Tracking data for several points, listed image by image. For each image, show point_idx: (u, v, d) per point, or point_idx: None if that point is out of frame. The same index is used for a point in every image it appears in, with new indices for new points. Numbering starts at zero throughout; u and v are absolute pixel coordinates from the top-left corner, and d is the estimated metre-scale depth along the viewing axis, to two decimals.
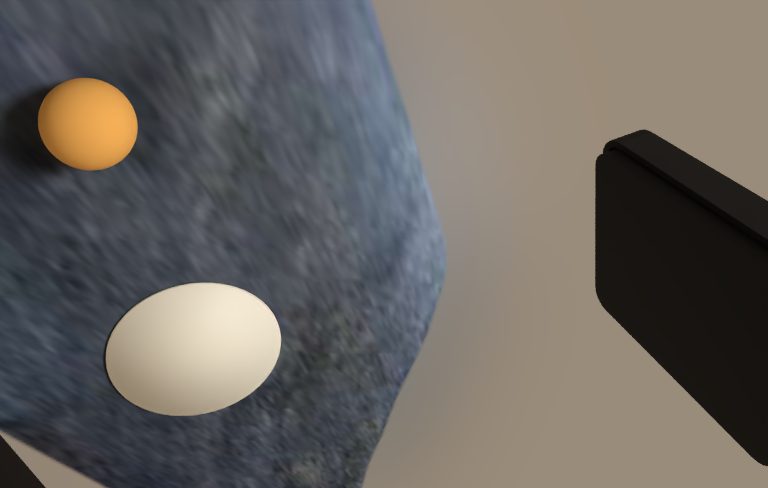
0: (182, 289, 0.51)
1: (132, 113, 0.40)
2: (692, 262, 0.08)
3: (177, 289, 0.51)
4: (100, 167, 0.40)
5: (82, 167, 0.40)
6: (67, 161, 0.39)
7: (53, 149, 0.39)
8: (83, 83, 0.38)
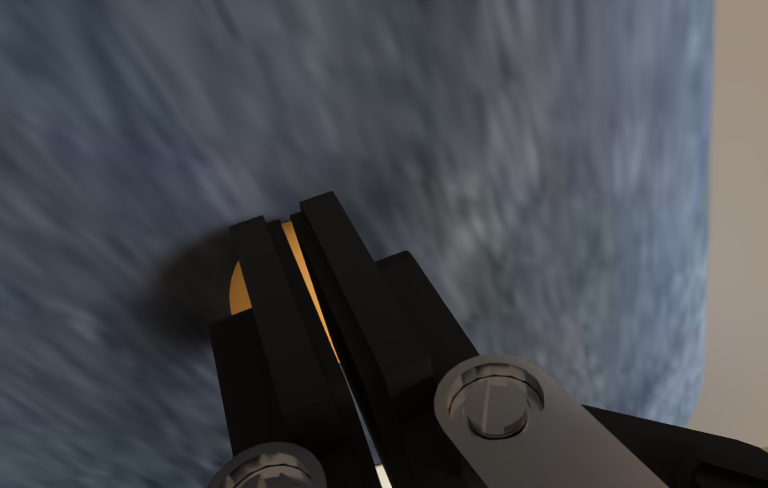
0: None
1: None
2: (335, 328, 0.09)
3: None
4: None
5: None
6: None
7: None
8: None
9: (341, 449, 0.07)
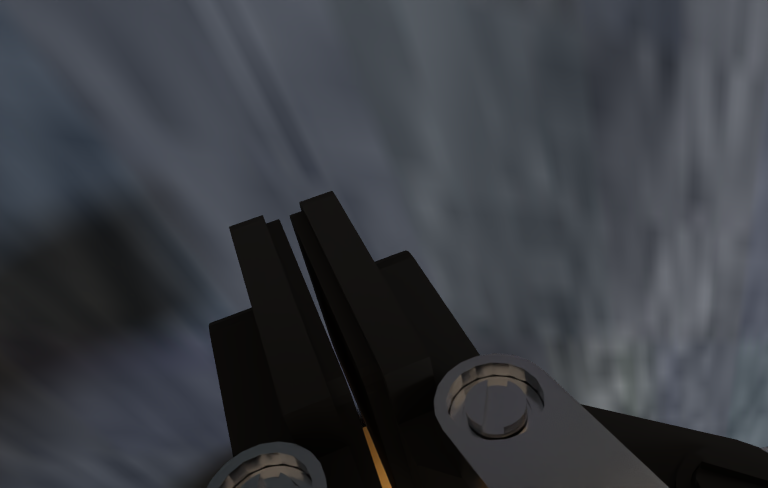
0: None
1: None
2: (335, 327, 0.09)
3: None
4: None
5: None
6: None
7: None
8: None
9: (341, 449, 0.07)
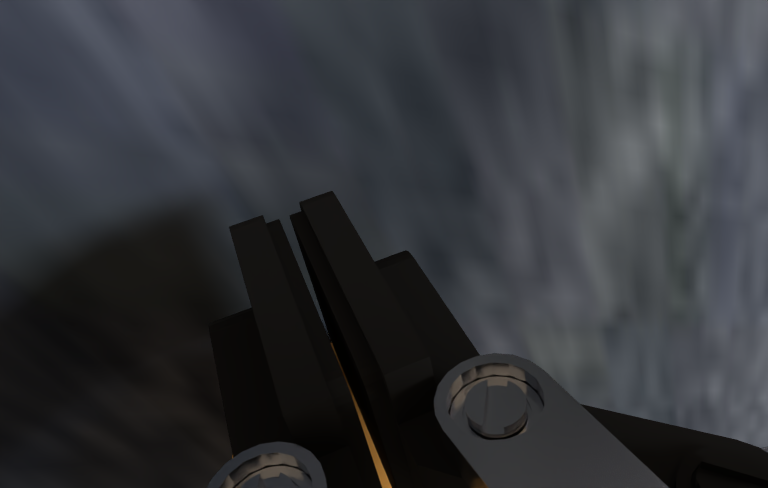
0: None
1: None
2: (335, 328, 0.09)
3: None
4: None
5: None
6: None
7: None
8: None
9: (341, 449, 0.07)
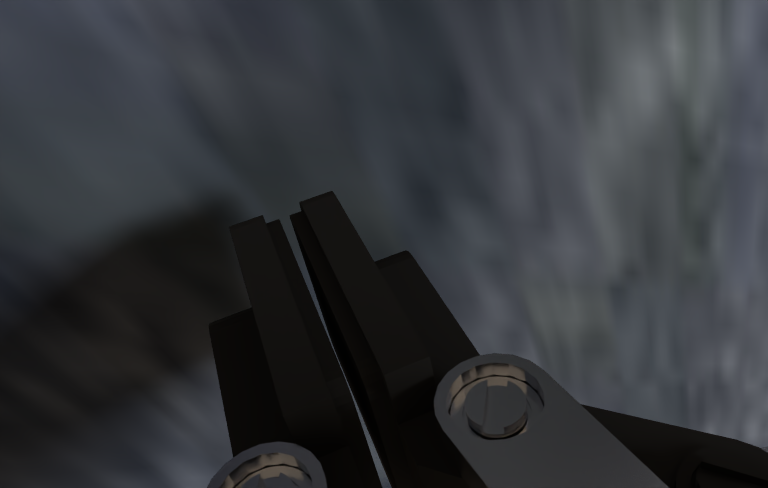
0: None
1: None
2: (335, 328, 0.09)
3: None
4: None
5: None
6: None
7: None
8: None
9: (341, 449, 0.07)
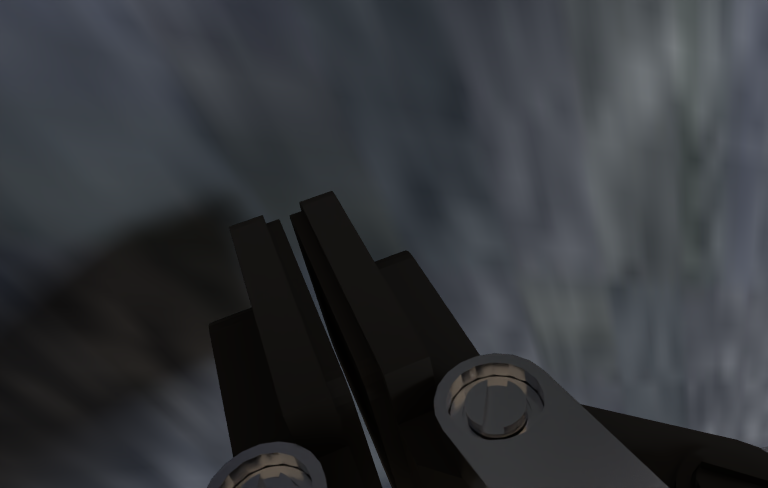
0: None
1: None
2: (335, 328, 0.09)
3: None
4: None
5: None
6: None
7: None
8: None
9: (341, 449, 0.07)
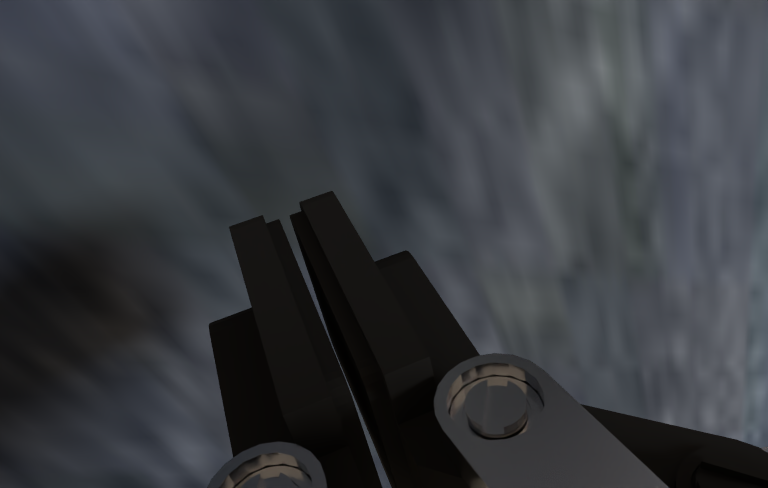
0: None
1: None
2: (335, 328, 0.09)
3: None
4: None
5: None
6: None
7: None
8: None
9: (341, 449, 0.07)
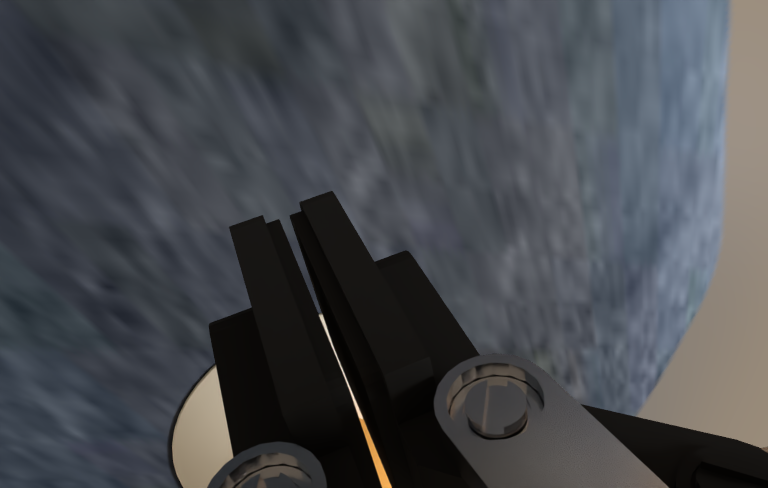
0: None
1: None
2: (335, 327, 0.09)
3: None
4: None
5: None
6: None
7: None
8: None
9: (341, 449, 0.07)
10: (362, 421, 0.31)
